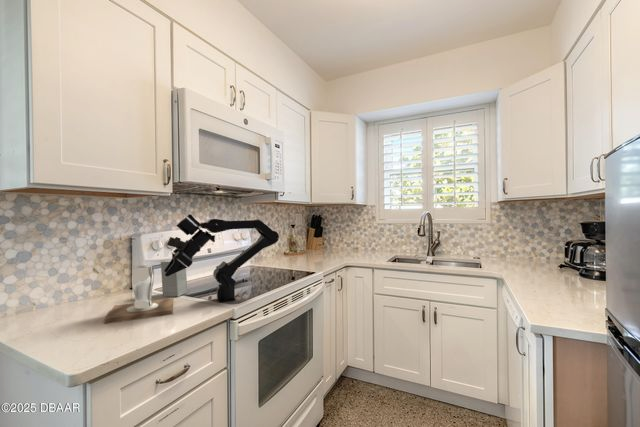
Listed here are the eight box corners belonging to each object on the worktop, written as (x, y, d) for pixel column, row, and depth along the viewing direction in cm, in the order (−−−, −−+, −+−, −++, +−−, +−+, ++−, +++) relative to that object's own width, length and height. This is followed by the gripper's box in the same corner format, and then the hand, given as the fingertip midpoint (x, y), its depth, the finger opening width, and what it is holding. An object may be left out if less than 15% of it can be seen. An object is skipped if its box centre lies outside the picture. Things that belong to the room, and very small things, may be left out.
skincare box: (187, 293, 131) (187, 258, 131) (176, 297, 124) (176, 261, 124) (172, 292, 133) (172, 258, 133) (160, 296, 126) (160, 260, 126)
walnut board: (173, 302, 118) (173, 297, 118) (172, 314, 103) (172, 309, 103) (114, 309, 109) (114, 304, 109) (104, 323, 95) (104, 318, 95)
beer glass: (156, 303, 111) (156, 264, 111) (151, 308, 104) (151, 267, 104) (135, 305, 109) (135, 265, 109) (129, 310, 102) (129, 268, 102)
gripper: (178, 228, 121) (148, 257, 115) (182, 230, 105) (147, 263, 99) (199, 246, 125) (170, 274, 119) (205, 250, 109) (173, 283, 103)
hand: (165, 273), depth 110 cm, fingers open, 9 cm apart
